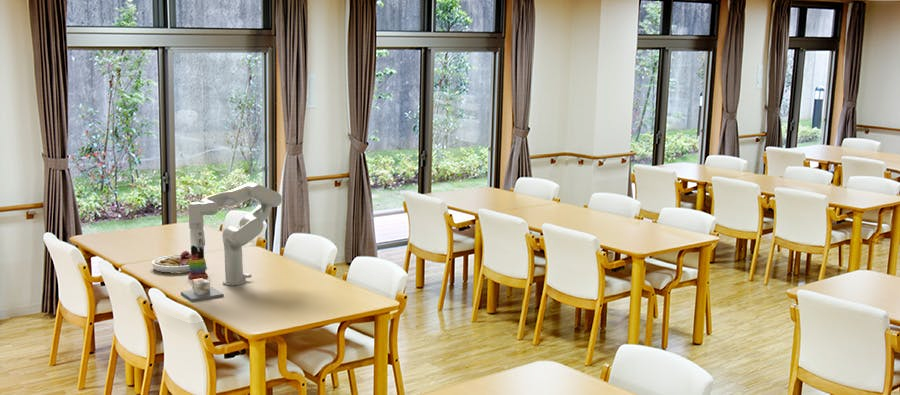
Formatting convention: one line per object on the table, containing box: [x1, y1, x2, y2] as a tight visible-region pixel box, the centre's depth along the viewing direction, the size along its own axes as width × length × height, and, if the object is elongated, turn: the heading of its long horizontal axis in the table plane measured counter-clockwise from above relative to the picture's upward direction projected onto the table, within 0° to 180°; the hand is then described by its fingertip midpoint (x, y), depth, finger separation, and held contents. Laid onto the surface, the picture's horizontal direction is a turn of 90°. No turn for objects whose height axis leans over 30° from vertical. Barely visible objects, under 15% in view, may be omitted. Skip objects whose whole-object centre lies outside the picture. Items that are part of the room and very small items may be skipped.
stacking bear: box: [187, 247, 209, 279], centre depth 527 cm, size 11×10×18 cm
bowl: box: [151, 250, 192, 274], centre depth 547 cm, size 30×30×8 cm
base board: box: [180, 286, 225, 303], centre depth 490 cm, size 17×17×2 cm
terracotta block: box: [191, 278, 205, 290], centre depth 503 cm, size 6×6×5 cm
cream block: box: [193, 279, 211, 295], centre depth 490 cm, size 6×6×6 cm
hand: (197, 256), depth 500 cm, fingers open, 9 cm apart
